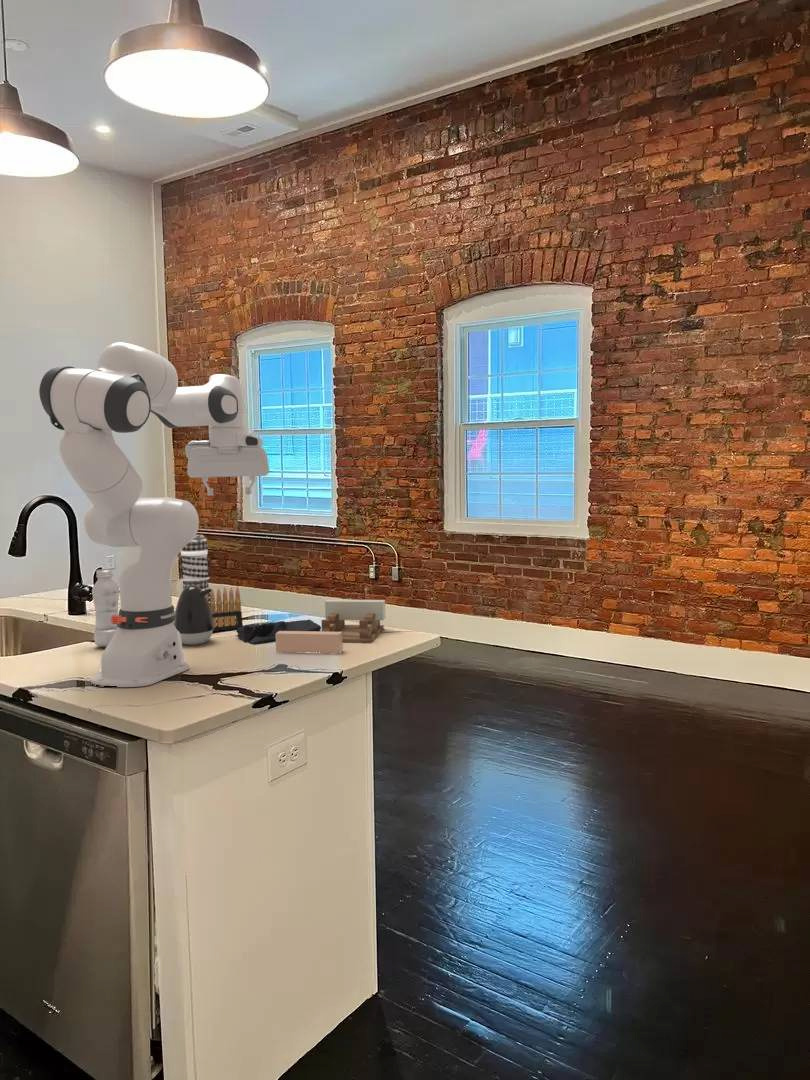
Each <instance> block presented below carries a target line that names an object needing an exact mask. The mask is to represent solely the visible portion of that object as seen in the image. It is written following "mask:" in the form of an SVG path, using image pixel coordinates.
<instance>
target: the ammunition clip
mask: <svg viewBox="0 0 810 1080" xmlns="http://www.w3.org/2000/svg"><path fill="white" fill-rule="evenodd" d="M210 589H211V590H212V592H210V597H209V598H210V602H209V603H210V608H211V611H212V615H213V620H214V629H213V631H216V632H220V631H219V630H226V631H231V630H230V629H236V630H237V629H238V628H240V627H243V626H244V625H243V624H244V623H243V614H242V613H243V612H242V600H241V593H240V589H239V586H236V587H235V593H234V591H233V587H232V586H230V588H229V593H228V592H227V589H226V587H223V589H222V595H221V590H220V588H219V587H218V588H217V591H216V598H215V592H214V590H213V589H214V588H210ZM205 590H206V589H205ZM234 594H235V597H234ZM206 597H207V600H208V594H207V595H206ZM228 597H229V598H228Z"/></svg>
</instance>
